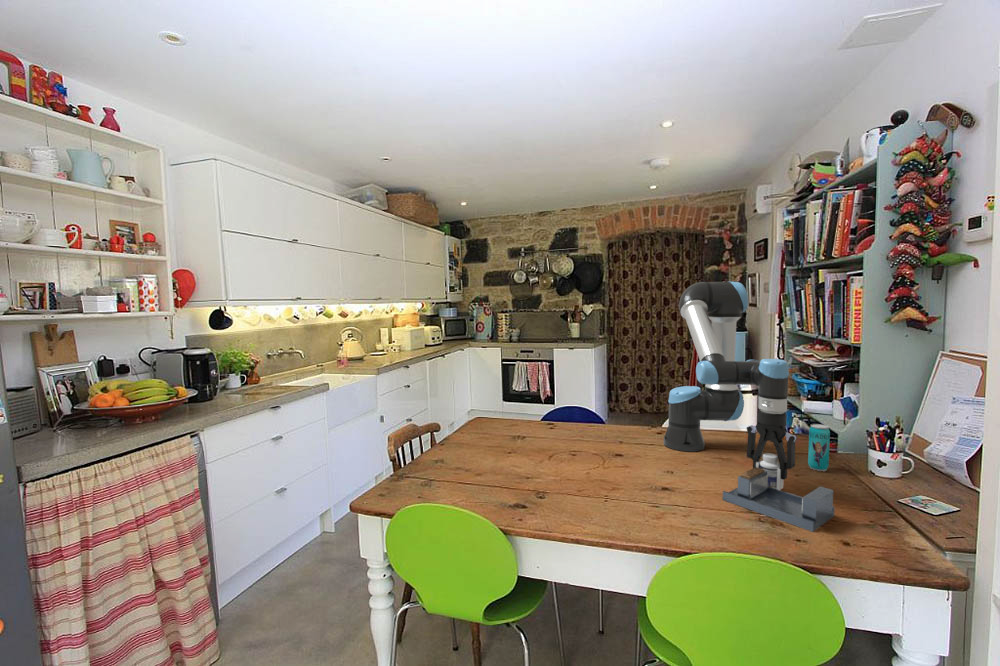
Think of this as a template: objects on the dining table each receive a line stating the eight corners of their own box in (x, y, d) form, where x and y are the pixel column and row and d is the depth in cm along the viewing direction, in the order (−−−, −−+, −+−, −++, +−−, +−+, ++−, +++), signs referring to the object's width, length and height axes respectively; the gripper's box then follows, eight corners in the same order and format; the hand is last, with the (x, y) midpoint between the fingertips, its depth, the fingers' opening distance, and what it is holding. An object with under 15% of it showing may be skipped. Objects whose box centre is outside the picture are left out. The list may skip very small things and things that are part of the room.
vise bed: (722, 500, 133) (723, 474, 132) (746, 488, 141) (747, 464, 140) (812, 531, 114) (814, 502, 114) (834, 515, 122) (835, 488, 122)
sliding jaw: (737, 497, 131) (738, 474, 130) (756, 487, 137) (756, 466, 137) (749, 501, 128) (750, 478, 127) (768, 491, 134) (768, 469, 134)
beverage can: (809, 470, 154) (810, 427, 153) (806, 465, 160) (808, 422, 158) (829, 473, 152) (831, 429, 151) (826, 467, 157) (828, 424, 156)
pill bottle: (760, 480, 143) (762, 450, 143) (780, 485, 140) (782, 454, 139) (757, 486, 139) (758, 455, 138) (777, 491, 136) (779, 459, 135)
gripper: (735, 406, 143) (732, 478, 145) (801, 419, 128) (797, 499, 130) (746, 403, 147) (744, 472, 149) (812, 415, 132) (808, 492, 134)
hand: (768, 485), depth 140 cm, fingers closed on pill bottle, 5 cm apart
